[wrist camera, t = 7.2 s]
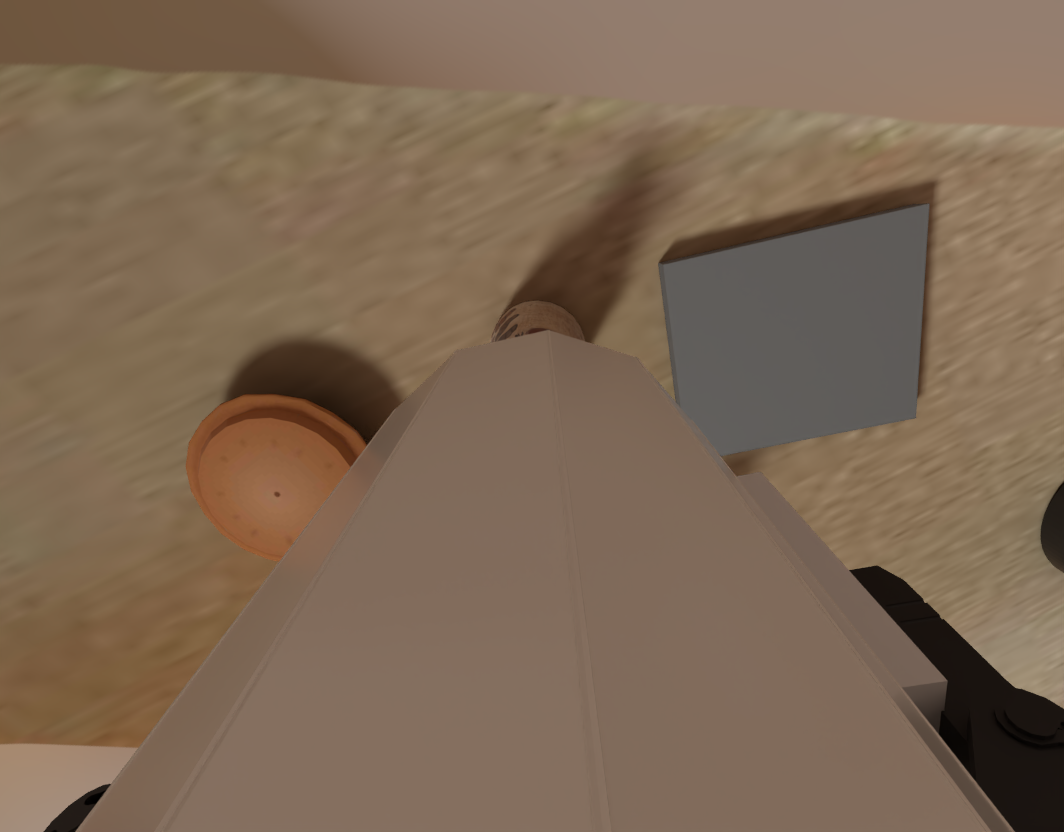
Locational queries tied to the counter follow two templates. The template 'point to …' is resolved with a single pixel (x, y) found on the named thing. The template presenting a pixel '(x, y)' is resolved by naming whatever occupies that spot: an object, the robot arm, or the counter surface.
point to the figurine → (536, 321)
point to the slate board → (799, 330)
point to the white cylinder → (542, 642)
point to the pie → (268, 467)
